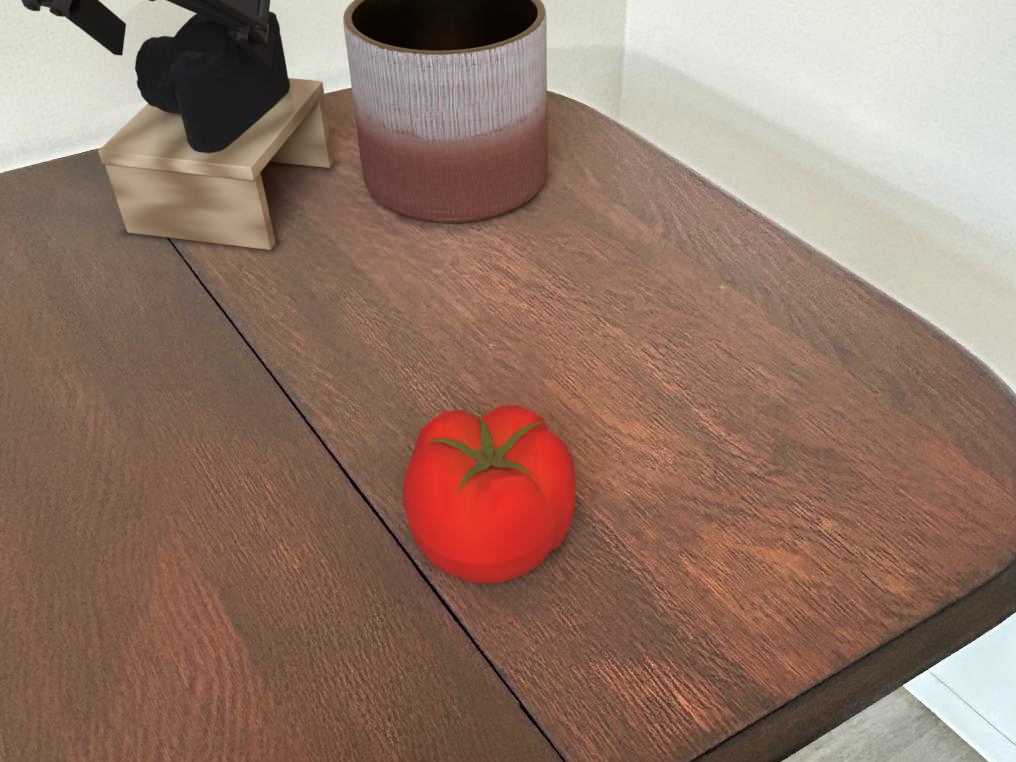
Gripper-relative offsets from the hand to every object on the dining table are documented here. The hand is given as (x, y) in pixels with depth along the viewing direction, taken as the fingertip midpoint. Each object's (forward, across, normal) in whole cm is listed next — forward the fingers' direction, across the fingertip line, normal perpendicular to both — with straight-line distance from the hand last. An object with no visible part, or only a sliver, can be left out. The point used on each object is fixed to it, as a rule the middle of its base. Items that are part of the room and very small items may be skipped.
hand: (194, 46), depth 87 cm
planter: (+15, +20, -5) cm, 26 cm away
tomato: (-17, +35, -37) cm, 53 cm away
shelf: (+10, 0, -10) cm, 14 cm away
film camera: (+5, 0, -4) cm, 6 cm away
